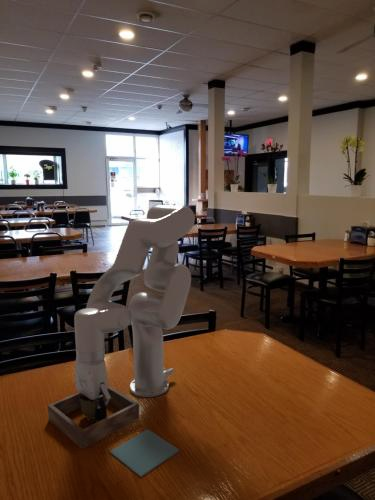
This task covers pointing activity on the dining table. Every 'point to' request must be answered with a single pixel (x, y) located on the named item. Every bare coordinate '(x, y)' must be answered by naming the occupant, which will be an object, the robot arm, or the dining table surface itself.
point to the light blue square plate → (144, 452)
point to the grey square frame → (99, 428)
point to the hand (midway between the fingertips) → (93, 413)
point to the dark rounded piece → (89, 407)
